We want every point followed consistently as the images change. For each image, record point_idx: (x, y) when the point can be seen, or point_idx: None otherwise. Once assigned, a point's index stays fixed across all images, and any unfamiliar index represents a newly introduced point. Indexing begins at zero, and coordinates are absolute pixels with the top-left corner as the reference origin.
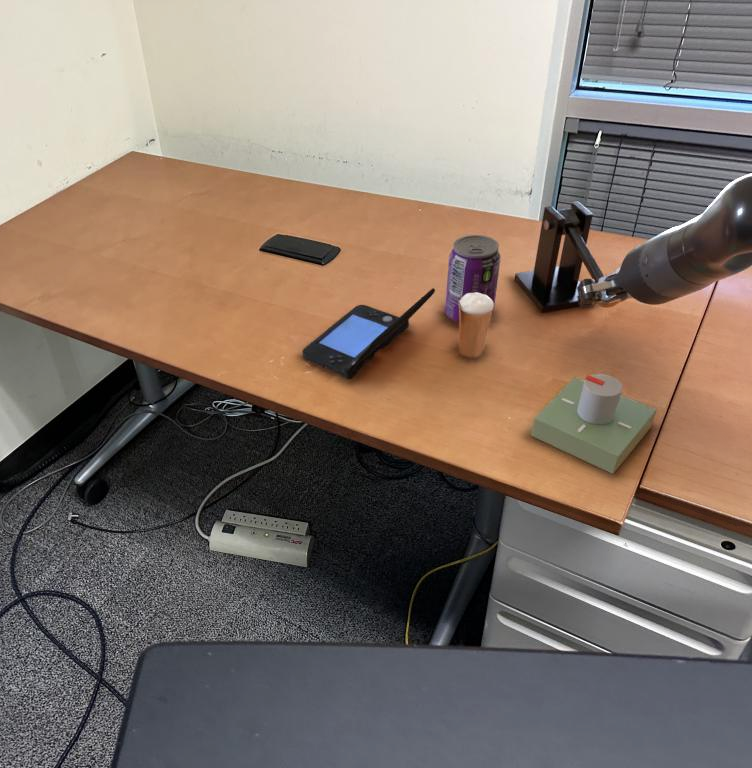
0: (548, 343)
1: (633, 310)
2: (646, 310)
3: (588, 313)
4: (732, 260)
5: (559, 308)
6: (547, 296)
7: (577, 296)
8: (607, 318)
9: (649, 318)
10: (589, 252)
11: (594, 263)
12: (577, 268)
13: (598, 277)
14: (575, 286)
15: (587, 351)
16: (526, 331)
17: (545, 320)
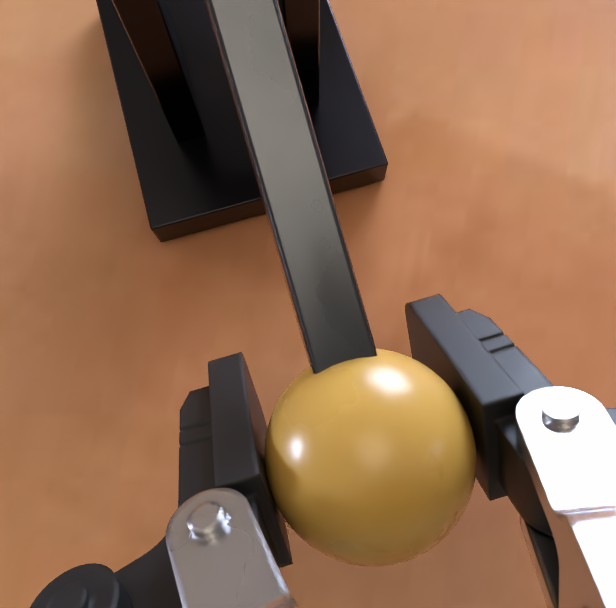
0: (140, 473)
1: (536, 220)
2: (587, 220)
3: (352, 242)
4: None
5: (234, 218)
6: (187, 151)
7: (183, 406)
8: (423, 278)
9: (592, 277)
10: (274, 22)
11: (299, 151)
12: (299, 23)
13: (311, 311)
14: (311, 94)
15: (295, 536)
16: (66, 379)
17: (165, 294)
